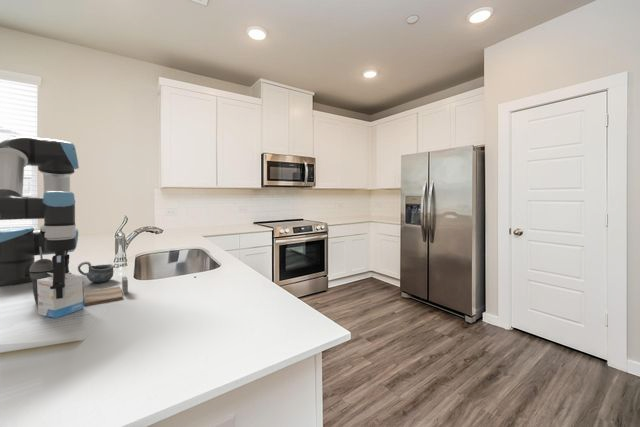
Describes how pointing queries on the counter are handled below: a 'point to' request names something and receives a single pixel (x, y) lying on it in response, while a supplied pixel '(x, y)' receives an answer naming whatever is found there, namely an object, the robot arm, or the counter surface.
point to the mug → (98, 272)
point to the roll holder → (106, 294)
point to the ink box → (72, 296)
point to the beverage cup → (40, 272)
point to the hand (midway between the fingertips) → (62, 301)
